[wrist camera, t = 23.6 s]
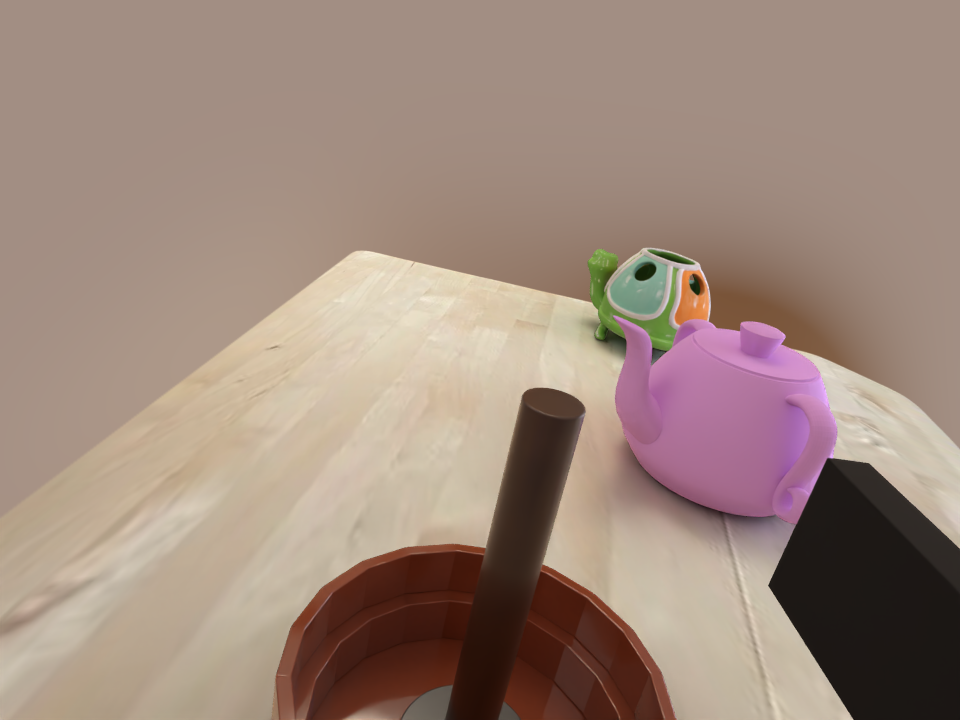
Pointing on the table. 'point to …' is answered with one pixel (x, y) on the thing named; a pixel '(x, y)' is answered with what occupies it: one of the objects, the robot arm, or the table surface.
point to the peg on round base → (510, 560)
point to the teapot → (727, 417)
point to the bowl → (458, 645)
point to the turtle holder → (648, 293)
